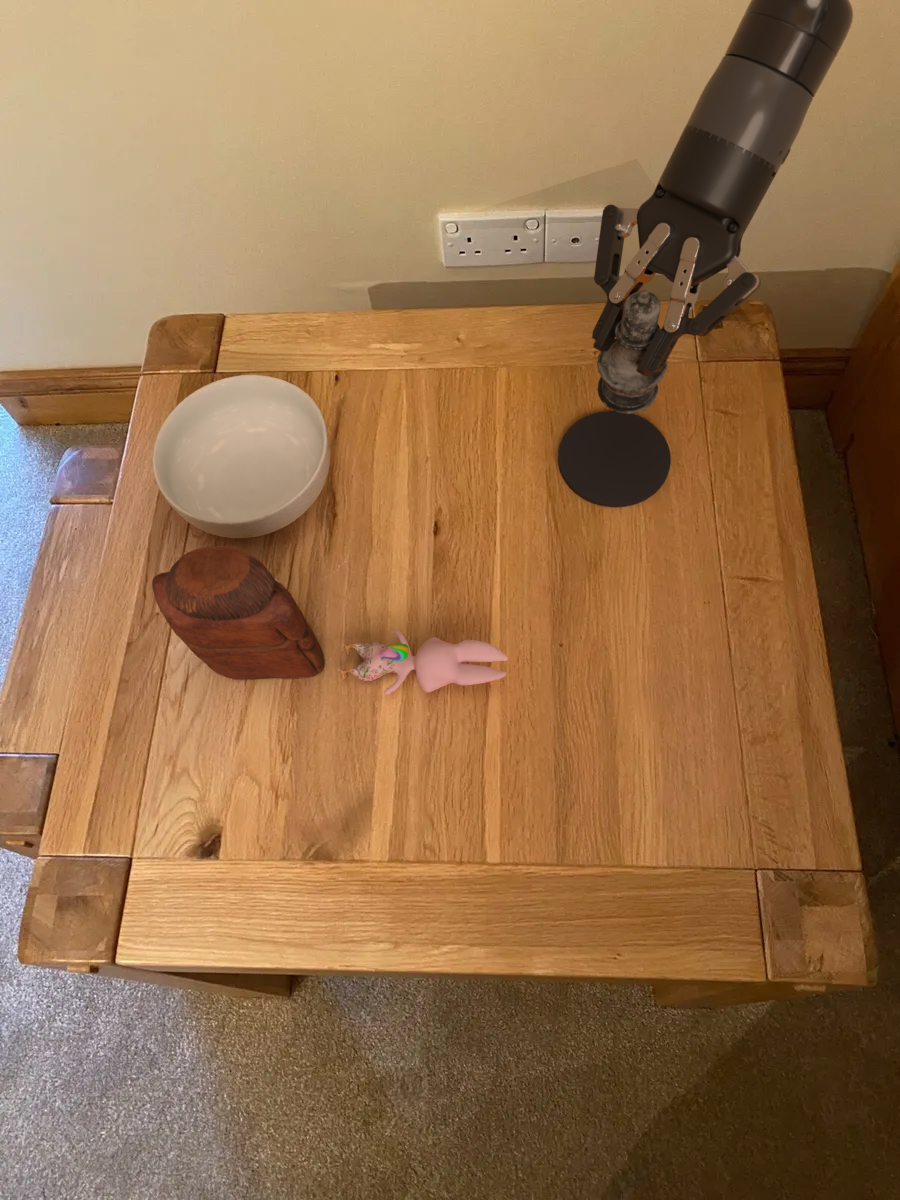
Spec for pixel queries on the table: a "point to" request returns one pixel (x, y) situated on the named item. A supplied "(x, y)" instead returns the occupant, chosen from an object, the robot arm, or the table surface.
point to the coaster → (614, 459)
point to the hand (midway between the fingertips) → (622, 360)
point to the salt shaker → (631, 357)
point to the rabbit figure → (427, 662)
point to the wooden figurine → (237, 616)
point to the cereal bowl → (243, 456)
